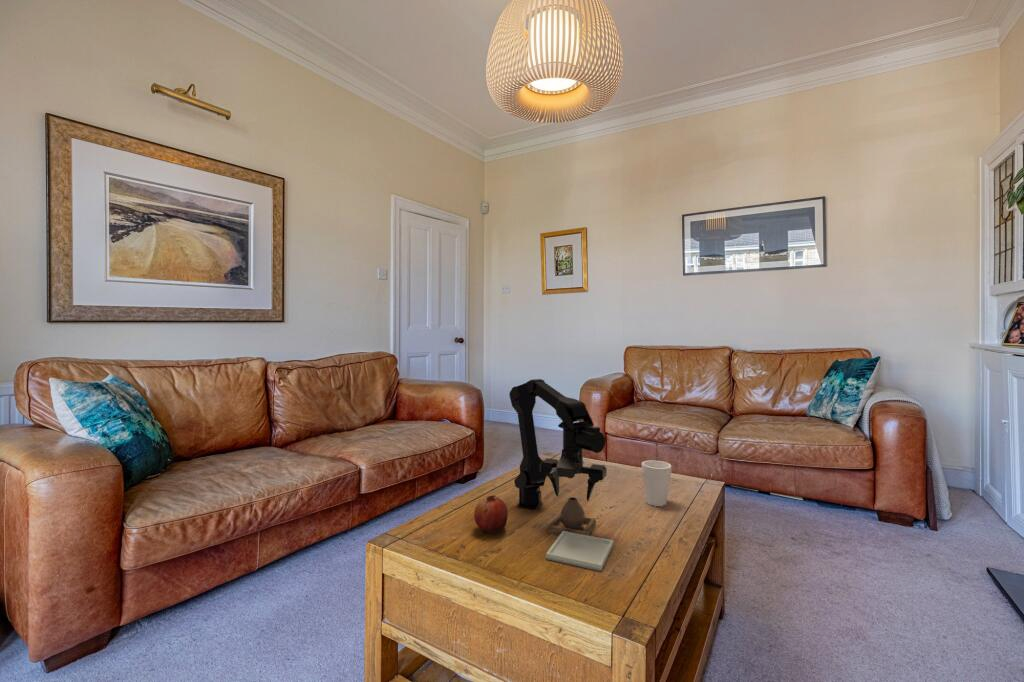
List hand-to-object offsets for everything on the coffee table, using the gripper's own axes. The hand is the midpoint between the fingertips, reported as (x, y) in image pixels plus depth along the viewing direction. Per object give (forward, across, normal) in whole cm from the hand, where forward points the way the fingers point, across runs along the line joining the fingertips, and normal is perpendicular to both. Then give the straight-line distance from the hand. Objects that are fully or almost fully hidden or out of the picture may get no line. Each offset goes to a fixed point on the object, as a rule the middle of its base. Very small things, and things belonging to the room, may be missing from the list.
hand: (572, 498), depth 131 cm
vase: (+9, 0, 0) cm, 9 cm away
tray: (+9, +6, -13) cm, 17 cm away
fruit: (+9, -21, -11) cm, 25 cm away
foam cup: (+9, +20, +30) cm, 37 cm away
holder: (+9, 0, 0) cm, 9 cm away
